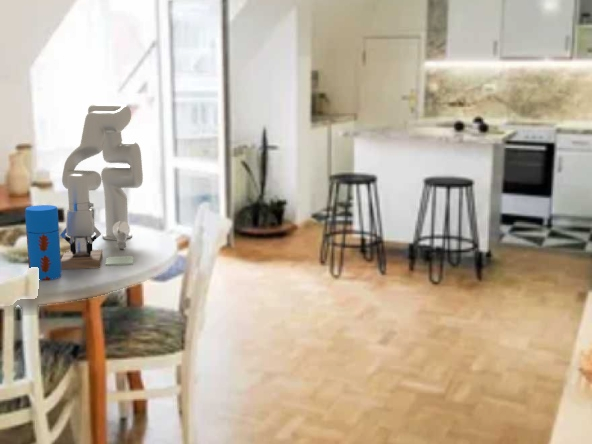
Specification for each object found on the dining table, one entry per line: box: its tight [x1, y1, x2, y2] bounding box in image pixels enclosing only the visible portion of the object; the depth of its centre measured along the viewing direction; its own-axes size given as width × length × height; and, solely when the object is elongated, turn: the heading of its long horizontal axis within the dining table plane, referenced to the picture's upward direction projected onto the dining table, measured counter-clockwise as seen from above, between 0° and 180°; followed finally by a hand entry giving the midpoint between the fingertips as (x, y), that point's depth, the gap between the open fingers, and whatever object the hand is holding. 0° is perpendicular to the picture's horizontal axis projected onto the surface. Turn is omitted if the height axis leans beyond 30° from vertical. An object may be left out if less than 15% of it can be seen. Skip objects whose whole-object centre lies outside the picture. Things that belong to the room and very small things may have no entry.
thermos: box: [24, 204, 62, 282], centre depth 258 cm, size 11×11×25 cm
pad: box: [105, 255, 134, 266], centre depth 282 cm, size 10×10×1 cm
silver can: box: [73, 236, 89, 258], centre depth 278 cm, size 5×5×11 cm
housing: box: [61, 249, 104, 270], centre depth 279 cm, size 16×14×3 cm
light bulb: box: [113, 221, 131, 251], centre depth 299 cm, size 7×7×12 cm
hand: (81, 252), depth 278 cm, fingers closed on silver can, 5 cm apart
